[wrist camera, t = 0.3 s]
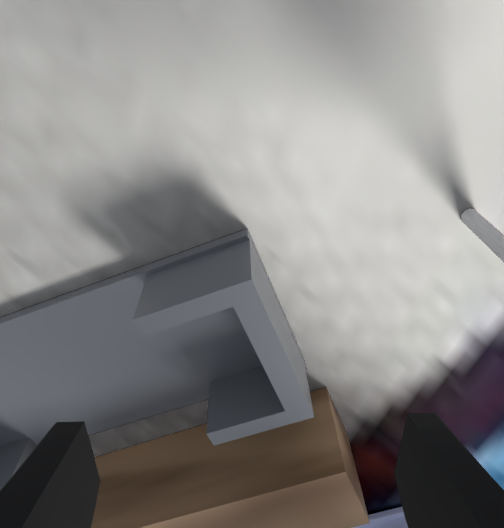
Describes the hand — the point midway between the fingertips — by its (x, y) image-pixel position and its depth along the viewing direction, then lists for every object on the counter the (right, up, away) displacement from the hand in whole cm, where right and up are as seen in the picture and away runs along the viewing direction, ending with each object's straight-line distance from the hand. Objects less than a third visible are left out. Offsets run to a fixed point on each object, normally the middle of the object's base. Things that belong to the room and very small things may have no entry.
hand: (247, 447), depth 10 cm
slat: (-2, -6, +15) cm, 16 cm away
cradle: (-8, 0, +11) cm, 14 cm away
